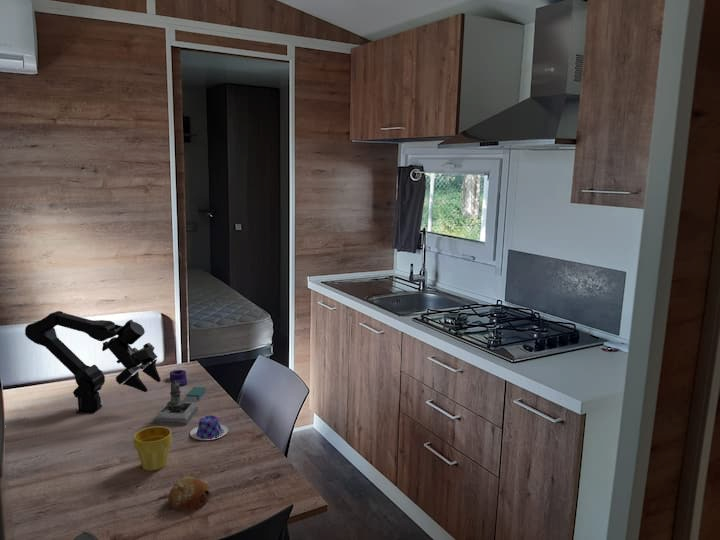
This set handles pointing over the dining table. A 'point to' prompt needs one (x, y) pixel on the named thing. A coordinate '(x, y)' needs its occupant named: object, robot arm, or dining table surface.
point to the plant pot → (153, 446)
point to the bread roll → (188, 494)
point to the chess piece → (175, 398)
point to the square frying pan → (189, 409)
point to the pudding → (208, 428)
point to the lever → (179, 377)
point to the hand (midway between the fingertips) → (153, 386)
